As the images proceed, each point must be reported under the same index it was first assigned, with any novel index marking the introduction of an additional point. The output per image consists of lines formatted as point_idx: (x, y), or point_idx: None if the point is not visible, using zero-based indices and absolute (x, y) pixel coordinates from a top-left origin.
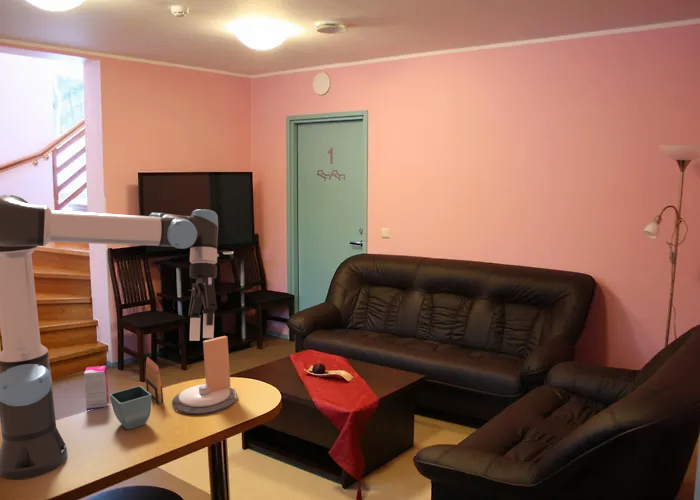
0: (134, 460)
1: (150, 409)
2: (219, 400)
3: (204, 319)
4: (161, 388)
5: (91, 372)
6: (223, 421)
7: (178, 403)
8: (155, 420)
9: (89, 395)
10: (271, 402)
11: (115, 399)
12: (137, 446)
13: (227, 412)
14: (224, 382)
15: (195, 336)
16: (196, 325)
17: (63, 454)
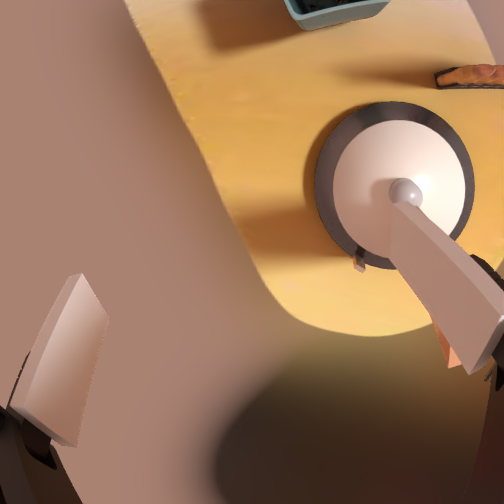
0: (151, 25)
1: (301, 28)
2: (339, 217)
3: (26, 366)
4: (454, 83)
5: None
6: (256, 202)
7: (393, 115)
8: (331, 50)
9: None
10: (309, 316)
11: None
12: (204, 19)
13: (302, 221)
14: None
15: (403, 250)
16: (447, 306)
17: None
